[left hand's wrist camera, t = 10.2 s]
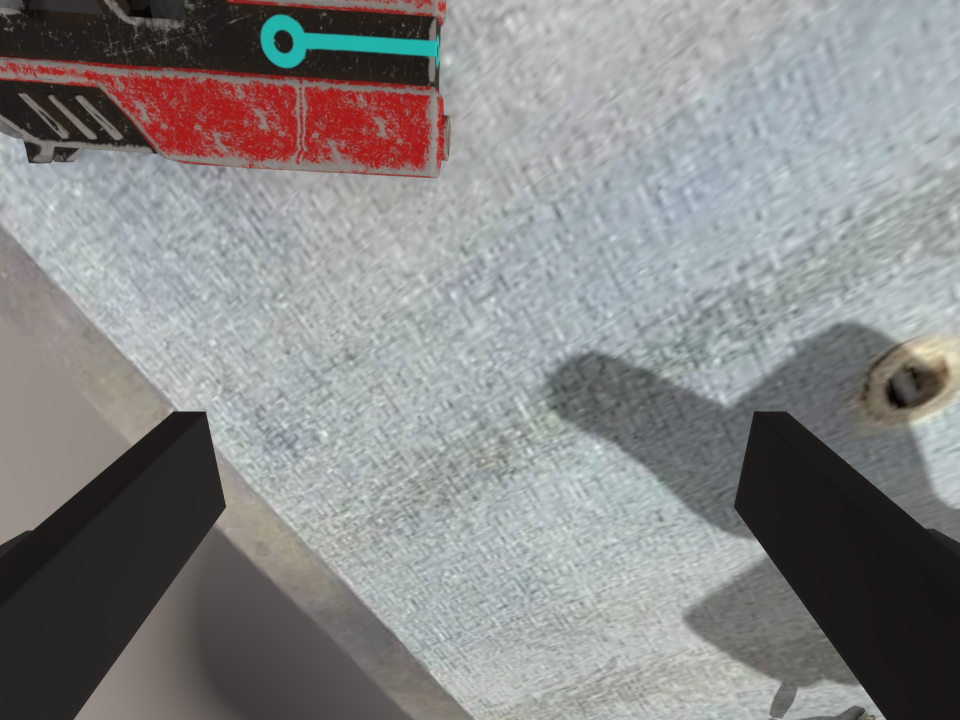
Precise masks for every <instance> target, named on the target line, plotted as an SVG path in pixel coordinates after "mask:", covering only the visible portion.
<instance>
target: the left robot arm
mask: <svg viewBox="0 0 960 720" xmlns="http://www.w3.org/2000/svg"><path fill="white" fill-rule="evenodd" d="M225 508H226V505H225V500H224V495H223V490H222V486H221V481H220V476H219V471H218V467H217V462H216V457H215V453H214V448H213V443H212V438H211V434H210V429H209V424H208V420H207V415H206V412H173V413H171V414H170V415H169V416H168V417H167V418H166V419H164V420H163V421H162V422H161V423H160V424H158V425H157V426H156V427H155V428H154V429H153V430H151V431H150V432H149V433H148V434H147V435H145V436H144V437H143V438H142V439H141V440H140V441H138V442H137V443H136V444H135V445H134V446H132V447H131V448H130V449H129V450H128V451H126V452H125V453H124V454H123V455H122V456H121V457H119V458H118V459H117V460H116V461H115V462H114V463H112V464H111V465H110V466H109V467H108V468H106V469H105V470H104V471H103V472H102V473H100V474H99V475H98V476H97V477H96V478H94V479H93V480H92V481H91V482H90V483H89V484H87V485H86V486H85V487H84V488H83V489H81V490H80V491H79V492H78V493H77V494H76V495H74V496H73V497H72V498H71V499H70V500H68V501H67V502H66V503H65V504H64V505H63V506H61V507H60V508H59V509H58V510H57V511H55V512H54V513H53V514H52V515H51V516H50V517H48V518H47V519H46V520H45V521H44V522H42V523H41V524H40V525H39V526H38V527H36V528H35V529H34V530H33V531H25V532H24V533H22V534H20V535H18V536H16V537H15V538H13V539H11V540H9V541H7V542H6V543H4V544H2V545H0V720H74V718H75V717H76V715H77V714H78V713H79V711H80V710H81V708H82V707H83V706H84V704H85V703H86V702H87V700H88V699H89V697H90V696H91V695H92V693H93V692H94V690H95V689H96V688H97V686H98V685H99V683H100V682H101V681H102V679H103V678H104V676H105V675H106V674H107V672H108V671H109V669H110V668H111V667H112V665H113V664H114V663H115V661H116V660H117V658H118V657H119V656H120V654H121V653H122V651H123V650H124V649H125V647H126V646H127V644H128V643H129V642H130V640H131V639H132V637H133V636H134V635H135V633H136V632H137V630H138V629H139V628H140V626H141V625H142V624H143V622H144V621H145V619H146V618H147V617H148V615H149V614H150V612H151V611H152V609H153V608H154V607H155V605H156V604H157V603H158V601H159V600H160V598H161V597H162V596H163V594H164V593H165V591H166V590H167V589H168V587H169V586H170V584H171V583H172V582H173V580H174V579H175V578H176V576H177V575H178V573H179V572H180V571H181V569H182V568H183V566H184V565H185V564H186V562H187V561H188V559H189V558H190V557H191V555H192V554H193V552H194V551H195V550H196V548H197V547H198V545H199V544H200V543H201V541H202V540H203V538H204V537H205V536H206V534H207V533H208V531H209V530H210V529H211V527H212V526H213V525H214V523H215V522H216V520H217V519H218V518H219V516H220V515H221V513H222V512H223V511H224V509H225ZM734 508H735V509H736V511H737V512H738V513H739V515H740V516H741V518H742V519H743V520H744V522H745V523H746V525H747V526H748V527H749V529H750V530H751V532H752V533H753V534H754V536H755V537H756V538H757V540H758V541H759V543H760V544H761V545H762V547H763V548H764V550H765V551H766V552H767V554H768V555H769V557H770V558H771V559H772V561H773V562H774V564H775V565H776V566H777V568H778V569H779V571H780V572H781V573H782V575H783V576H784V578H785V579H786V580H787V582H788V583H789V584H790V586H791V587H792V589H793V590H794V591H795V593H796V594H797V596H798V597H799V598H800V600H801V601H802V603H803V604H804V605H805V607H806V608H807V610H808V611H809V612H810V614H811V615H812V617H813V618H814V619H815V621H816V622H817V624H818V625H819V626H820V628H821V629H822V630H823V632H824V633H825V635H826V636H827V637H828V639H829V640H830V642H831V643H832V644H833V646H834V647H835V649H836V650H837V651H838V653H839V654H840V656H841V657H842V658H843V660H844V661H845V663H846V664H847V665H848V667H849V668H850V670H851V671H852V672H853V674H854V675H855V676H856V678H857V679H858V681H859V682H860V683H861V685H862V686H863V688H864V689H865V690H866V692H867V693H868V695H869V696H870V697H871V699H872V700H873V702H874V703H875V704H876V706H877V707H878V709H879V710H880V711H881V713H882V714H883V716H884V717H885V718H886V720H960V543H959V542H957V541H955V540H953V539H951V538H949V537H948V536H946V535H944V534H942V533H940V532H939V531H937V530H935V529H925V528H924V527H922V526H921V525H920V524H919V523H918V522H916V521H915V520H914V519H913V518H912V517H911V516H909V515H908V514H907V513H906V512H905V511H903V510H902V509H901V508H900V507H899V506H897V505H896V504H895V503H894V502H893V501H892V500H890V499H889V498H888V497H887V496H886V495H884V494H883V493H882V492H881V491H880V490H879V489H877V488H876V487H875V486H874V485H873V484H871V483H870V482H869V481H868V480H867V479H866V478H864V477H863V476H862V475H861V474H860V473H858V472H857V471H856V470H855V469H854V468H852V467H851V466H850V465H849V464H848V463H847V462H845V461H844V460H843V459H842V458H841V457H839V456H838V455H837V454H836V453H835V452H834V451H832V450H831V449H830V448H829V447H828V446H826V445H825V444H824V443H823V442H822V441H820V440H819V439H818V438H817V437H816V436H815V435H813V434H812V433H811V432H810V431H809V430H807V429H806V428H805V427H804V426H803V425H802V424H800V423H799V422H798V421H797V420H796V419H794V418H793V417H792V416H791V415H790V414H789V413H787V412H754V415H753V420H752V424H751V429H750V434H749V438H748V443H747V448H746V453H745V457H744V462H743V467H742V471H741V476H740V481H739V486H738V490H737V495H736V500H735V505H734Z"/></svg>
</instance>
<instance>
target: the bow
mask: <svg viewBox="0 0 960 720" xmlns="http://www.w3.org/2000/svg"><path fill="white" fill-rule="evenodd" d="M875 719H876V717H875V716H874V715H873V716H871V715H870V716H868V715H867V714H865V715H864V714H862V716H860V717H859V718H858V719H857V720H875Z"/></svg>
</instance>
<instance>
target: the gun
mask: <svg viewBox="0 0 960 720" xmlns="http://www.w3.org/2000/svg"><path fill="white" fill-rule="evenodd" d="M19 4H20V7H21V9H18V8H3V7H0V120H2V121H3V122H5V123H6V124H8V125H9V126H11V127H12V128H13V129H15V130H16V131H18V132H19V133H21V134H22V136H23V140H24V144H25V148H26V152H27V157H28V161H29V163H39V164H41V163H51V162H52V160H53V159H54V162H74V161H75V160H76V158H77V157H78V156H79V154H80V153H81V151H82V150H83V149H98V150H113V151H127V152H141V153H155V154H159V155H161V156H162V157H164V158H166V159H169V160H173V161H177V162H180V163H184V164H198V165H213V166H228V167H242V168H258V169H277V170H296V171H314V172H332V173H350V174H369V175H387V176H405V177H423V178H438V177H439V174H440V167H441V161H442V160H445V161H448V157H449V147H450V116H445V115H444V111H443V98H442V96H441V95H440V93H439V69H440V33H441V25H442V24H443V22H444V20H445V18H446V0H184V5H185V12H186V20H173V19H158V18H152V14H151V11H150V3H149V0H19Z"/></svg>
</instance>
